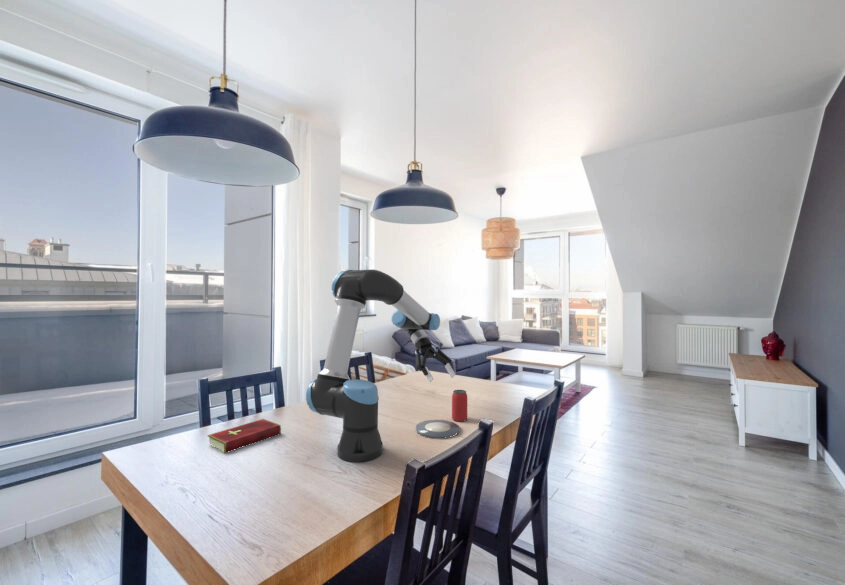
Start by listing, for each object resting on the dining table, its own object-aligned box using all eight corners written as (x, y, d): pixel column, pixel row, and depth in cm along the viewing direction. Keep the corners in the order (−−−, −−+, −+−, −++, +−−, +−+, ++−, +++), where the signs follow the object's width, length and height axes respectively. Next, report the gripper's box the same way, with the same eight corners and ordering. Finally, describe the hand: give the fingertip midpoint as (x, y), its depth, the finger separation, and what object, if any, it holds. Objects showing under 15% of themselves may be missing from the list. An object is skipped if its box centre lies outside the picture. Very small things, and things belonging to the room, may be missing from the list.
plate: (442, 442, 133) (442, 438, 133) (407, 431, 144) (407, 427, 144) (467, 429, 146) (467, 425, 146) (434, 419, 157) (434, 416, 157)
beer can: (449, 417, 160) (449, 390, 160) (463, 416, 162) (463, 388, 162) (456, 422, 154) (456, 394, 154) (470, 421, 156) (470, 392, 156)
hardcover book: (280, 435, 140) (280, 424, 140) (224, 454, 123) (224, 442, 123) (263, 428, 147) (263, 417, 147) (207, 446, 130) (207, 434, 130)
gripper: (436, 344, 188) (458, 378, 176) (397, 348, 172) (417, 387, 160) (444, 334, 184) (466, 369, 172) (404, 338, 168) (425, 377, 156)
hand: (442, 378), depth 166 cm, fingers open, 13 cm apart
